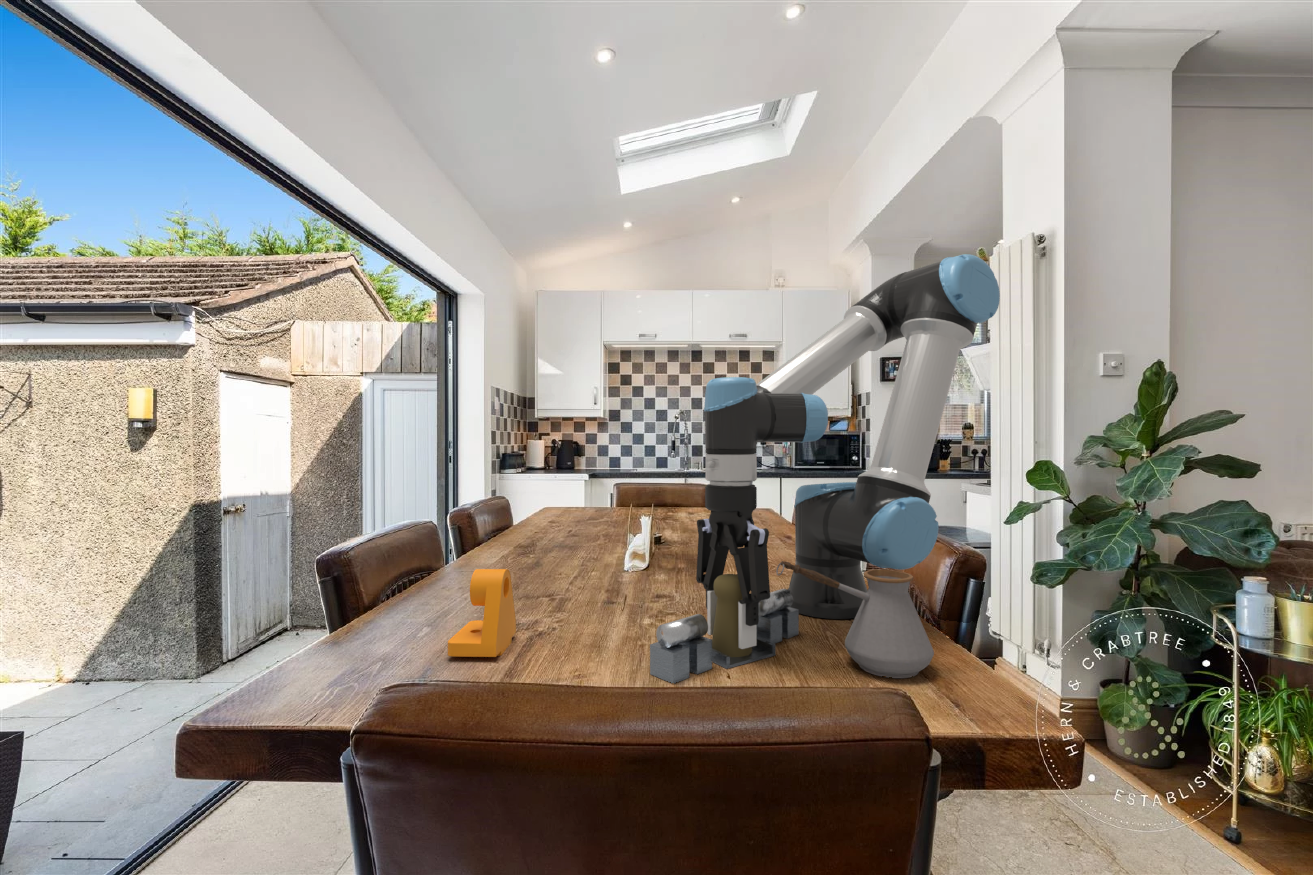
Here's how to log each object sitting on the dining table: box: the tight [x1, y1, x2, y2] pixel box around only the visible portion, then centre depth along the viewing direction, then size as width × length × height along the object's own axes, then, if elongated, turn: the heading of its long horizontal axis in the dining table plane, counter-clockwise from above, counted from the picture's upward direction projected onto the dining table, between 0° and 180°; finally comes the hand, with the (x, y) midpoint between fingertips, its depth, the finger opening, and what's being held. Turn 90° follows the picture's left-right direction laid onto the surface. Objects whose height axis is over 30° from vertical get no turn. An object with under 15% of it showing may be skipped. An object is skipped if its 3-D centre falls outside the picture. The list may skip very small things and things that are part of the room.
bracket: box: [447, 568, 517, 658], centre depth 92 cm, size 11×7×12 cm, turn 178°
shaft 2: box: [756, 588, 800, 644], centre depth 97 cm, size 8×4×7 cm, turn 133°
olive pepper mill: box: [711, 573, 752, 657], centre depth 90 cm, size 6×6×11 cm
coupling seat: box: [712, 637, 777, 670], centre depth 90 cm, size 9×9×2 cm
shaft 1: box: [649, 613, 713, 684], centre depth 82 cm, size 8×4×7 cm, turn 133°
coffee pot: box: [775, 560, 935, 679], centre depth 83 cm, size 21×12×15 cm, turn 95°
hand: (731, 639), depth 90 cm, fingers open, 6 cm apart
